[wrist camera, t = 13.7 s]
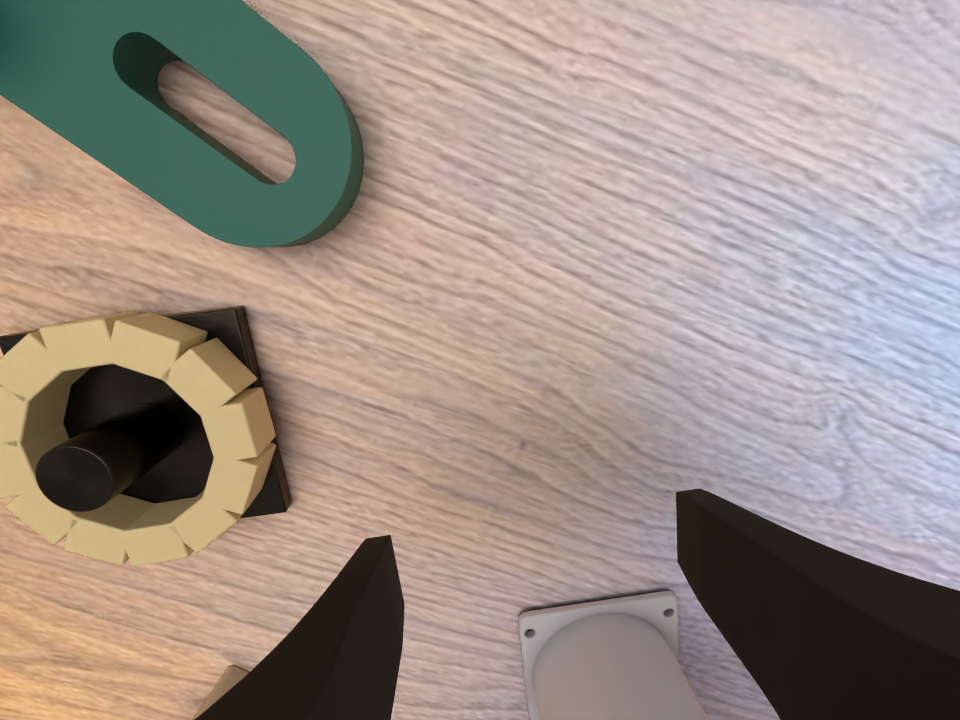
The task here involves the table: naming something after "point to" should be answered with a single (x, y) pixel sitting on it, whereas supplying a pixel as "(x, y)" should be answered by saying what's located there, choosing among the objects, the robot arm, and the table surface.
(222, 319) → the post
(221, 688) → the lighter
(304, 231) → the bracket
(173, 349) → the tan segmented ring
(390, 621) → the robot arm
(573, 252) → the table surface
